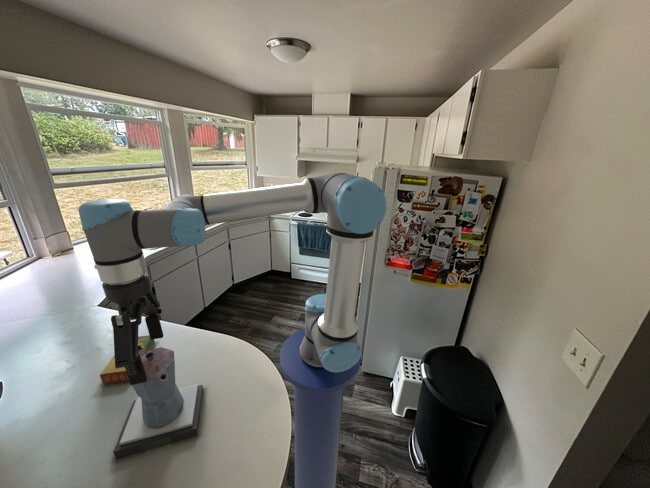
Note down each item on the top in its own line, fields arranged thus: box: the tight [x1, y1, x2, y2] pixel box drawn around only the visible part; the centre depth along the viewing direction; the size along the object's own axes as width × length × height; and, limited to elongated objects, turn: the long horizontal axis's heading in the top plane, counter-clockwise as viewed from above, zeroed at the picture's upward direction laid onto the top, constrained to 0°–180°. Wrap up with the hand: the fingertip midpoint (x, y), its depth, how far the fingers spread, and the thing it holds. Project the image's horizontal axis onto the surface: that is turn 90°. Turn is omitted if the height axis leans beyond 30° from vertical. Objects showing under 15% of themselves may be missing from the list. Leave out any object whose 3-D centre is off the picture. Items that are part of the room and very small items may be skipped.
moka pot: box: [128, 345, 184, 429], centre depth 61 cm, size 10×15×20 cm, turn 58°
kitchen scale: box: [112, 384, 204, 460], centre depth 65 cm, size 17×13×3 cm
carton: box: [99, 334, 156, 385], centre depth 82 cm, size 8×16×4 cm, turn 12°
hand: (149, 357), depth 58 cm, fingers open, 13 cm apart
